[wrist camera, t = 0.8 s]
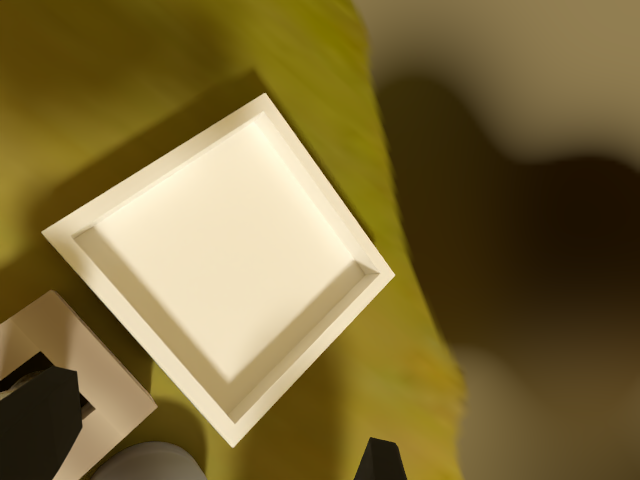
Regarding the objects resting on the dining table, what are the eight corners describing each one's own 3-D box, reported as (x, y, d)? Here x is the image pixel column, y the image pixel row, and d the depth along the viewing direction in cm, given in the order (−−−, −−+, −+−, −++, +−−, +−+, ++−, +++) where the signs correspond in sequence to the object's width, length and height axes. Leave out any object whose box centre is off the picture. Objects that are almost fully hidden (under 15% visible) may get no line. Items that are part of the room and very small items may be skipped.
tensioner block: (123, 610, 21) (127, 654, 18) (-101, 400, 18) (-134, 416, 16) (233, 486, 24) (251, 509, 21) (56, 291, 21) (50, 289, 19)
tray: (219, 434, 24) (232, 447, 22) (46, 239, 21) (40, 232, 19) (372, 277, 30) (395, 275, 28) (251, 109, 27) (265, 92, 25)
